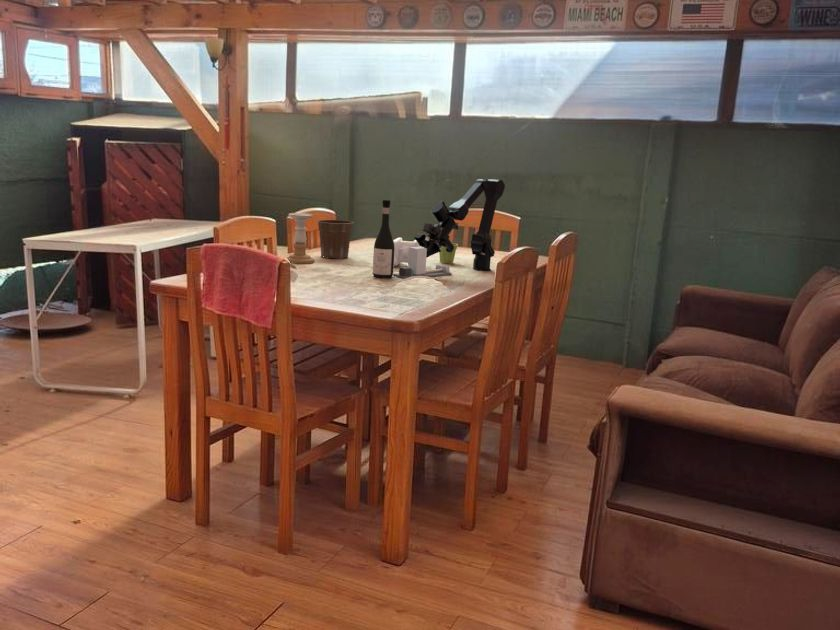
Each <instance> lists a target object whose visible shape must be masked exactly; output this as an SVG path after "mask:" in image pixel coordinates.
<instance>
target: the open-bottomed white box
mask: <svg viewBox="0 0 840 630" xmlns="http://www.w3.org/2000/svg"><path fill="white" fill-rule="evenodd" d="M426 255H427V248H424V247H421V246H420V247H409V261H408V263H407V264H408V265H407V267H408V268H411V269H413V271H414V274H415V275H419V274H425V271H426V270H427V269H426V268H427V267H426V266H427V258H426Z"/></svg>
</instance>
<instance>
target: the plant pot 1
mask: <svg viewBox="0 0 840 630" xmlns="http://www.w3.org/2000/svg"><path fill="white" fill-rule="evenodd" d="M316 221H317V225H318V231H319V243H320V244H319V245H320V256H321V257H322V256H324V257H328V258H327V259H331V258H333V259H339V258H342V259H347V258H349V251H350V242H351V233H352V230H353V225H354V223H355V222H354V221H350V220H345V219H344V220H342V219H341V220H340V219H321V220H320V219H318V220H316ZM324 257H323V258H324Z"/></svg>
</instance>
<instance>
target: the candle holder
mask: <svg viewBox="0 0 840 630" xmlns="http://www.w3.org/2000/svg"><path fill="white" fill-rule="evenodd" d="M288 217H289V218H293V220H294V222H295V223H296V225H295V227H294V229H295V233H294V237H293V241H294V243H293V245H292V246H293V248H294V250H293V252H294V253H292V254H289V256H286V257H285V258H287V259H288V260H289V261H290V262H293V263H292V264H297V263H308V264H313V263H315V259H314V258H315V257H312V256H311V255H310V254H306V252H307V251H306V249H307V247H308V244H307V243H306V242H307V238H308V237H307V234H306V230H307V227H306V225H305V224H306V223H307V220H308V219H313V217H314V214H313V213H302V212H290V213H288ZM312 262H313V263H312Z"/></svg>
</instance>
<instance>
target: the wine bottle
mask: <svg viewBox="0 0 840 630" xmlns="http://www.w3.org/2000/svg"><path fill="white" fill-rule="evenodd" d="M381 203H382V217H381V225H380V229H379V232H378V234H377V235H376V238H375V241H374V245H373V256H372V257H373V258H372V259H373V260H372V275H373V277H375V278H379V279H390V278H392V277H394V276H393V274H394V267H395V266H394V242H393V241H394V238H393V235H392V233H391V229H390V206H391V200H390V199H382V202H381Z"/></svg>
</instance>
